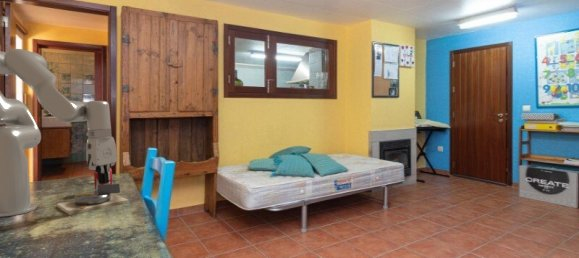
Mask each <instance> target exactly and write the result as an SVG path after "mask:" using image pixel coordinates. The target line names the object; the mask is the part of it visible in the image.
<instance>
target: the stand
mask: <svg viewBox="0 0 579 258" xmlns="http://www.w3.org/2000/svg"><path fill="white" fill-rule="evenodd" d="M110 195H111V199H110V200H109V201H106V202H103V203H99V204H93V205H76V204H75V199H74V200H70V201H65V202H60V203H59V202H58V203H57V204H56V207H57V208H59V209H60V210H61V211H63V212H64V213H66V214H67V215H68V216H73V215H77V214H82V213H88V212H93V211H97V210H101V209H106V208H111V207H115V206H116V207H117V206H119V205H124V204H128V203H129V199H127V198H125V197H122V196H121V195H117V194H116V193H111V194H110Z"/></svg>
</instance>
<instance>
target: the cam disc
mask: <svg viewBox="0 0 579 258" xmlns="http://www.w3.org/2000/svg"><path fill="white" fill-rule="evenodd" d="M112 193H113V194H120V193H121V184H120V183H113V184H105V185H98V191H95V190H94V191H93V190H92V191H87V192H83V193H77V194H76V193H75V195H74V200H75V204H76V205H93V204H99V203H103V202H106V201H109V200H110V199H111V195H110V194H112Z"/></svg>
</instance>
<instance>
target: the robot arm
mask: <svg viewBox="0 0 579 258" xmlns="http://www.w3.org/2000/svg"><path fill="white" fill-rule="evenodd" d="M0 75H11V76H13V75H16V76H17V77H18V78H19V79H20V80H22V82H23V83H25V84H26V86H28V87H29V88H30V89H32V91H34V94H35V97H36V99H37V101H38V102H39V104H40V105H41V107H42V108H44V110H46V111H47V112H48V113H49V114H51V116H53V117H54V118H56V120H59V121H60V122H63V123H72V122H74V123H75V122H76V123H78V122H85V121H86V125H87V127H86V128H87V132H86V134H85V135H86V136H87V139H86V148H85V149H86V150H85V155H86V157H85V158H86V164H87V166H88V170H90V171H94V170H95V171H96V173H98V182H99V184H106V183H109V178H108V172H109V171H110V168H111V169H112V167H113V166H115V164H116V163H117V162H118V152H117V145H116V141H115V138H114V136H112V126H111V111H110V110H111V109H110V104H109V102H108V101H106V100H90V101H81V100H80V101H79V100H69V99H68V98H67V97H66V96H64V95H63V94H62V93H61V92H60V91H59V90H58V89H57V88H56V83H57V81H58V80H57V77H56V75H55V74H54V73H53V72H52V71H50V70H49V69H48V63H47V60H46V59H45V57H44V56H43V55H41V54H39V53H37V52H34V51H30V50H26V49H22V48H13V49H10V50H8V51H2V50H0ZM0 125H3V126H0V217H1V218H2V217H9V216H11V217H12V216H17V215H23V214H25V213H30V212H32V211H34V210H35V209H37V205H36V204H35V203H31V189H30V186H31V185H30V176H29V174H30V173H29V172H30V171H29V160H28V157H27V155H26V153H25V151H24V150H29V149H33V148H35V147H37V146H38V145H39V144H40V142H41V140H42V133H41V130H40V129H39V128H40V127H39V126H38V124H37V123H36V121H35V118H34V117H33V115H32V113H31V111H30V109H29V107H28V106H27V105H26V104H25V103H24V102H23V101H20V99H15V98H7V97H5V96H4V94H3V92H2V91H1V90H0ZM99 167H100V168H99Z"/></svg>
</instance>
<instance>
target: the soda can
mask: <svg viewBox="0 0 579 258" xmlns="http://www.w3.org/2000/svg"><path fill="white" fill-rule="evenodd" d="M99 168H100V167H99ZM108 178H109V183H106V184H114V183H113V170H112V167H111V168H110V171H109V172H108ZM93 179H94V180H93V182H94V183H93V184H94V191H98V185H105V184H99V182H98V173H96V171H95V170H93Z"/></svg>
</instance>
